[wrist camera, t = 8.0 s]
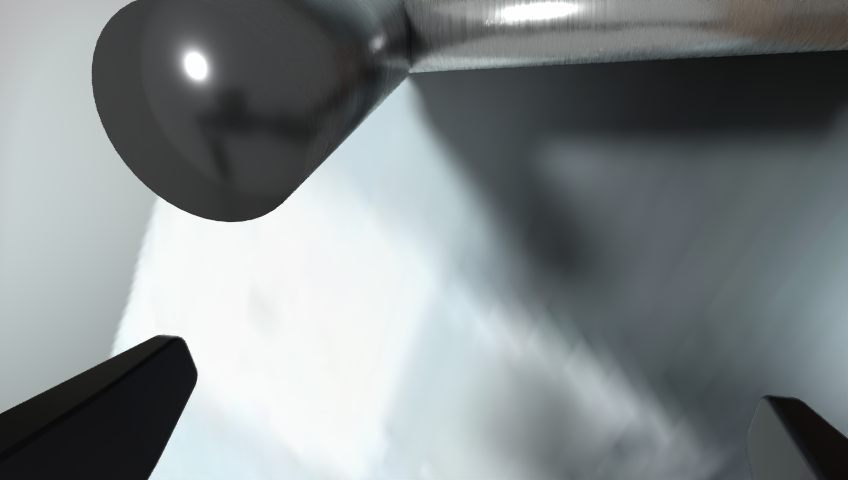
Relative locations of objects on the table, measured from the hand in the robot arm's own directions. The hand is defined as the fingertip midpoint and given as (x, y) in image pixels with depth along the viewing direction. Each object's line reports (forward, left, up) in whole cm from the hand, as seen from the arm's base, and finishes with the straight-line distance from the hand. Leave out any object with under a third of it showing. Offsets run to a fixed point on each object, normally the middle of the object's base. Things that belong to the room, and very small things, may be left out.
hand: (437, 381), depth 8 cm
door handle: (+2, -4, -9) cm, 10 cm away
